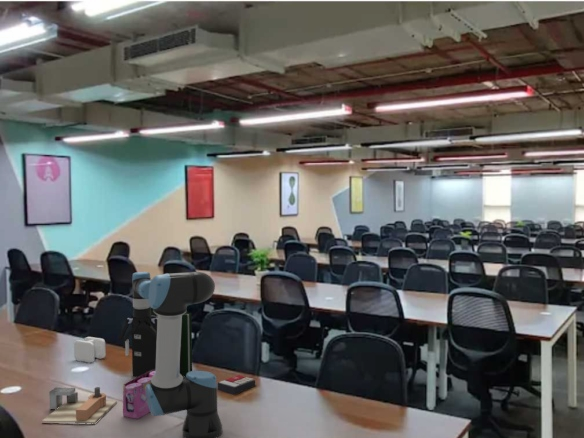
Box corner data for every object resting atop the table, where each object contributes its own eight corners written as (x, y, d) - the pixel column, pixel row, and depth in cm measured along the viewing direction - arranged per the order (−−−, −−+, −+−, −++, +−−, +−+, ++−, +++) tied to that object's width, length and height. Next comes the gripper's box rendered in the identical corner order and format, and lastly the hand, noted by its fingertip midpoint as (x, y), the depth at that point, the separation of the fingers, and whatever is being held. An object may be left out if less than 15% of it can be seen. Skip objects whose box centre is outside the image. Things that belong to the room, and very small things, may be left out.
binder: (193, 374, 268) (192, 312, 267) (176, 383, 255) (175, 319, 254) (150, 368, 279) (149, 308, 278) (131, 376, 265) (130, 314, 264)
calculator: (255, 378, 252) (234, 386, 240) (255, 387, 252) (234, 395, 240) (238, 374, 258) (217, 381, 246) (238, 382, 258) (217, 390, 246)
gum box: (136, 420, 212) (135, 387, 212) (120, 417, 215) (119, 385, 215) (170, 399, 235) (169, 369, 234) (155, 397, 238) (155, 368, 237)
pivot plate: (94, 424, 209) (94, 402, 208) (41, 423, 210) (41, 401, 210) (116, 403, 231) (116, 383, 230) (68, 402, 232) (68, 382, 232)
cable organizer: (72, 360, 294) (72, 340, 293) (87, 355, 303) (87, 335, 303) (92, 364, 287) (91, 343, 287) (106, 358, 296) (106, 338, 296)
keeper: (70, 410, 223) (69, 392, 223) (49, 410, 224) (49, 391, 223) (77, 404, 230) (77, 386, 230) (58, 403, 231) (57, 385, 230)
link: (93, 402, 228) (93, 393, 228) (108, 402, 228) (107, 393, 228) (73, 419, 210) (73, 409, 210) (89, 419, 210) (89, 410, 210)
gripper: (172, 305, 232) (173, 352, 233) (116, 305, 232) (117, 352, 232) (168, 308, 224) (169, 357, 225) (110, 309, 224) (111, 358, 225)
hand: (142, 355), depth 229 cm, fingers open, 13 cm apart
